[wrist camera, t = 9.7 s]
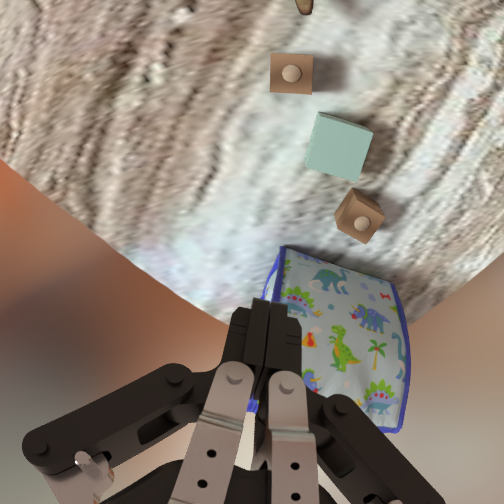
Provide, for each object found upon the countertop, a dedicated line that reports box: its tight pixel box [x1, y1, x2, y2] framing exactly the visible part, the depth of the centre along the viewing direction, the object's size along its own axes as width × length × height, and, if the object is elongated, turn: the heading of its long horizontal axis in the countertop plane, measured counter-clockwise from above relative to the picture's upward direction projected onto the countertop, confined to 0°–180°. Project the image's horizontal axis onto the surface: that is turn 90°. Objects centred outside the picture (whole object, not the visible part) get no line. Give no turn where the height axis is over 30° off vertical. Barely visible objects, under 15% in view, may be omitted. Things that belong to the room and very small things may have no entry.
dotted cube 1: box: [334, 188, 386, 244], centre depth 45 cm, size 5×5×5 cm
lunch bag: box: [246, 246, 411, 433], centre depth 46 cm, size 22×17×26 cm
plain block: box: [305, 112, 373, 182], centre depth 41 cm, size 7×7×5 cm
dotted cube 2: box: [270, 53, 313, 95], centre depth 36 cm, size 5×5×5 cm
